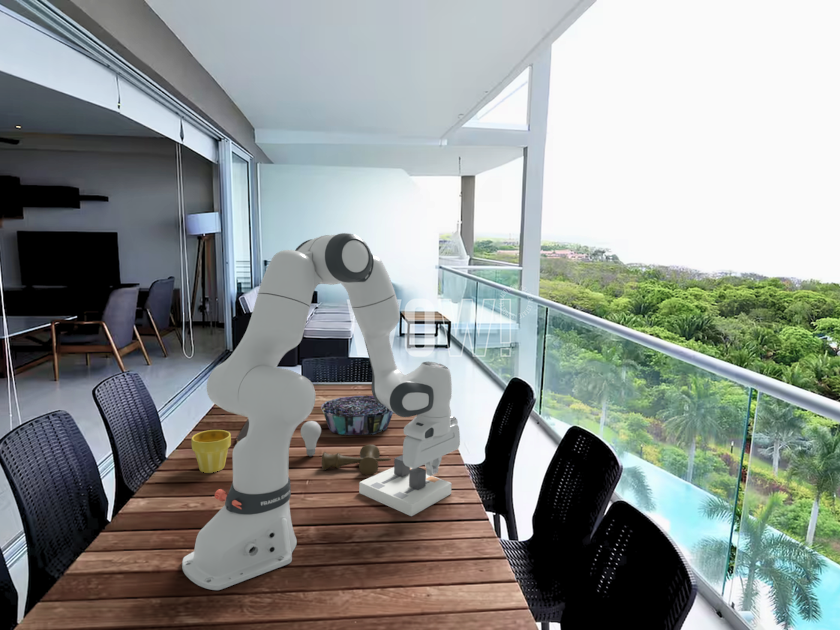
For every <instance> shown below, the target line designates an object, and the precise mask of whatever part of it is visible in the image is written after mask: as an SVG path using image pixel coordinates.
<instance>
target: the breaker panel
mask: <svg viewBox="0 0 840 630" xmlns="http://www.w3.org/2000/svg"><path fill="white" fill-rule="evenodd" d="M411 469H413V468H410V470H411ZM358 485H359V487H358V488H359V489H358V490H359V492H358V493H359V494H360V495H363V496H365V497H367V498H368V499H369V498H370V499H372V500H374V501H376V502H378V503H381V504H383V505H385V506H386V507H387V506H388V507H390V508H392V509H394V510H397V511H398V512H401V513H403V514H405V515H408V516H409V517H413V516H415V515H417V514H418V513H420V512H422V511H424V510H425V509H427V508H429V507H430V506H433V505H434V504H436V503H437V502H439V501H441V500H443V499H444V498H446V497H448V496H449V495H451V494H452V482H450V481H448V480H445V479H442V478H439V477H436V476H434V475H432V476H429V475H427V473H426V486H425V487H423V488H421V489H419V490H416V489H414V488H412V487H409V474H408V475H406V476H404V477H401V476H398V475H396V474H394V466H393V467H390V468H389V469H386V470H383V471H380V472H379V473H377V474H373V475H371V476H370V477H368V478H366V479H363V480H362V481H359V483H358Z"/></svg>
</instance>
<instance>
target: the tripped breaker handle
mask: <svg viewBox="0 0 840 630" xmlns="http://www.w3.org/2000/svg"><path fill="white" fill-rule="evenodd" d="M426 474H427V473H426V469H424V468H423V467H421V466H420V467H417V468H415V469H411V470H409V487H412V488H414V489H416V490H419V489H421V488H423V487H425V486H426Z"/></svg>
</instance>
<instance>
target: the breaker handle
mask: <svg viewBox="0 0 840 630" xmlns="http://www.w3.org/2000/svg"><path fill="white" fill-rule="evenodd" d="M393 462H394V463H393V465H394V466H393V467H394V474H396V475H398V476H401V477H404V476H406V475H408V474H409V470H410V467H407V466H405V464H404V463H403V454H402V455H399V456H397V457H394V461H393Z"/></svg>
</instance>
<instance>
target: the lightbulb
mask: <svg viewBox="0 0 840 630" xmlns="http://www.w3.org/2000/svg"><path fill="white" fill-rule="evenodd" d="M321 434H322V428H321V425H320V424H319V422H317V421H314V420H308V421H306V422H304V423H303V424H302V426H301V428H300V436H301V438H302V440H303V441H304V445H305V449H306V455H307V456H309V457H313V456H314V455H315V454H316V448H317V442H318V440H319V438H320V436H321Z"/></svg>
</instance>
